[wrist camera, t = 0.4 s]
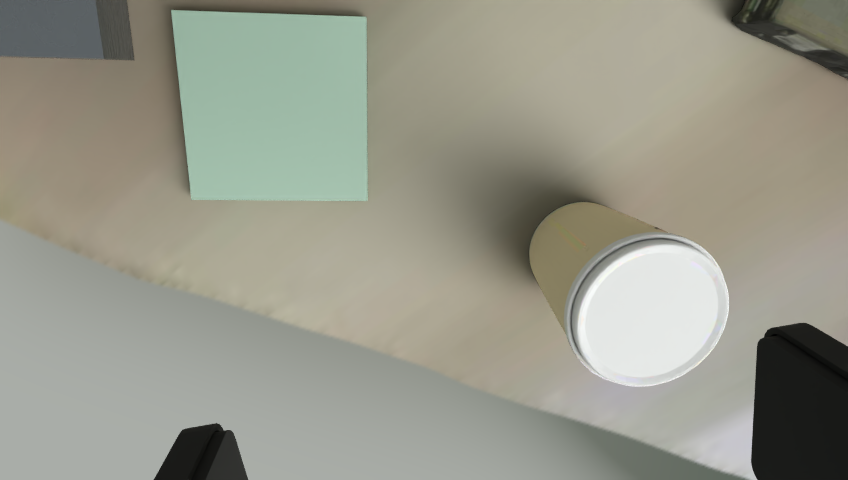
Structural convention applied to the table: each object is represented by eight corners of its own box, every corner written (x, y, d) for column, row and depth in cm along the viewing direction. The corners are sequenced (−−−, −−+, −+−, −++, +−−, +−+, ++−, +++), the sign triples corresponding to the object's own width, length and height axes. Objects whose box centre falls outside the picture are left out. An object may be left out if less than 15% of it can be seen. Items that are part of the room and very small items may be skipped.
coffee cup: (644, 287, 42) (742, 366, 31) (531, 319, 42) (586, 410, 31) (627, 175, 40) (727, 217, 28) (505, 210, 40) (556, 266, 28)
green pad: (176, 11, 34) (171, 10, 33) (366, 18, 35) (366, 16, 34) (196, 196, 38) (191, 199, 37) (367, 197, 38) (367, 200, 38)
